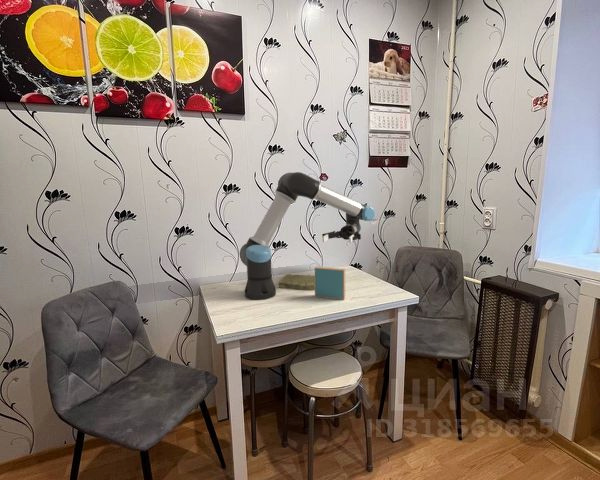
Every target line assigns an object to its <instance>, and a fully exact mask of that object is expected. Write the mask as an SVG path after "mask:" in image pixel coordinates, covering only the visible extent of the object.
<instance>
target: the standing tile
mask: <svg viewBox="0 0 600 480" xmlns="http://www.w3.org/2000/svg"><path fill="white" fill-rule="evenodd" d="M314 276H315V290H314V297H315V298H324V299H333V300H341V301H345V299H346V268H338V267H337V268H336V267H327V266H315V267H314Z"/></svg>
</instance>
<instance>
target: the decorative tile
mask: <svg viewBox="0 0 600 480" xmlns="http://www.w3.org/2000/svg"><path fill="white" fill-rule="evenodd" d="M278 289H289V290H299V291H315V275H313V274H311V275H310V274H291V273H287V274H285V275H284V276H283V277H282V278H281V279H280V281H279V283H278Z"/></svg>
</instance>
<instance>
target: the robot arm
mask: <svg viewBox="0 0 600 480" xmlns="http://www.w3.org/2000/svg"><path fill="white" fill-rule="evenodd" d="M274 193H275V197H274V199H273V200H272V203H271V204H270V206H269V208H268V210H267V211H266V214H265V215H264V217H263V219H262V221H261V222H260V225H259V226H258V227H257V229H256V231H255V233H254V235H253V236H250V237H249V238H248V239H247V241H246V243H244V244H242V246H241V247H240V250H239V258H240V262H241V263H242V264H243V265H244V266H246V271H247V272H246V274H247V275H246V276H247V279H246V284H245V288H244V297H245V298H246V299H249V300H257V301H260V300H267V299H271V298H273V297H275V296H276V295H277V289H276V286H275V282H274V281H273V274H272V272H273V271H272V251H271V249H270V246H269V244H270V243H271V240H272V238H273V236H274V235H275V233H276V231H277V229H278V228H279V226H280V225H281V222H282V220H283V218H284V217H285V215H286V213H287V211H288V209H289V207H290V205H291V204H295V203H296V201H297V199H298V198H299V197H303V198H306V199H310V200H314V199H315V200H317V201H319V202H321V203H323V204H326V205H328V206H330V207H333V208H334V209H337V210H339V211H341V212H344V213H345V225H344V226H342V227H341V229H340V230H339V231H338V230H337V231H336V230H333V231H330V232H325V233H322V234H321V235H322V243H326V242H327V241H328V240H330V239H343V240H345V241H346V240H347V241H348V243H349V244H351V243H352V242H354V241H356V240H362V239H361V238H362V237H361V236H362V235H361V233H360V232H361V230H362V224H361V223H360V221H361V220H362V221H364V222H370V221H372V220H373V219H374V218H375V216H376V211H375V209H374V207H371V206H370V205H369V206H367V205H364V204H362V203H360V202H359V201H357V200H355V199H352V198H350V197H348V196H346V195H344V194H341V193H340V192H337V191H335V190H333V189H331V188H330V187H326V186H324V185H323V184H321V182H320V181H319V180H317V179H315V178H313V177H311V176H310V175H308V174H306V173H303V172H301V171H296V172H286V173H284V174H283V175H282V176H280V177H279V180H278V182H277V187H276V189H275V192H274Z"/></svg>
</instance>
